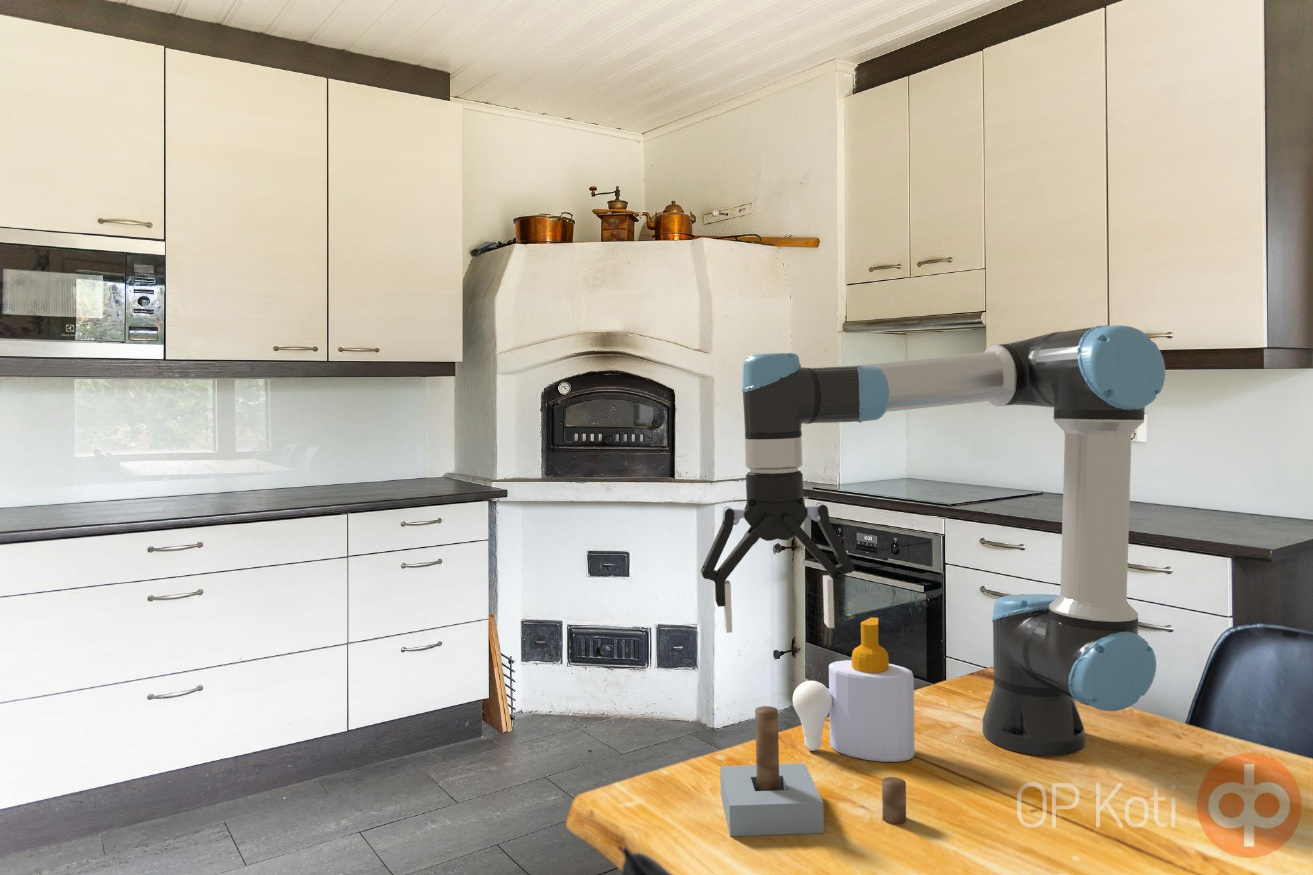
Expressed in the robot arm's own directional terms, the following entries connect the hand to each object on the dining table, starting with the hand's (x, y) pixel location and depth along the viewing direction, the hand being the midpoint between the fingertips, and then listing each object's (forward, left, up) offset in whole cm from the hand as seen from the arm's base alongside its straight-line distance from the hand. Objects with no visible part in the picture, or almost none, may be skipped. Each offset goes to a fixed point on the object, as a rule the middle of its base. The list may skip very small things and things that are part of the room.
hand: (778, 627), depth 117 cm
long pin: (+2, +1, -25) cm, 25 cm away
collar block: (+2, +1, -25) cm, 25 cm away
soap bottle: (-17, -18, -25) cm, 35 cm away
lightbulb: (-8, -19, -25) cm, 33 cm away
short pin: (-14, +4, -25) cm, 29 cm away
